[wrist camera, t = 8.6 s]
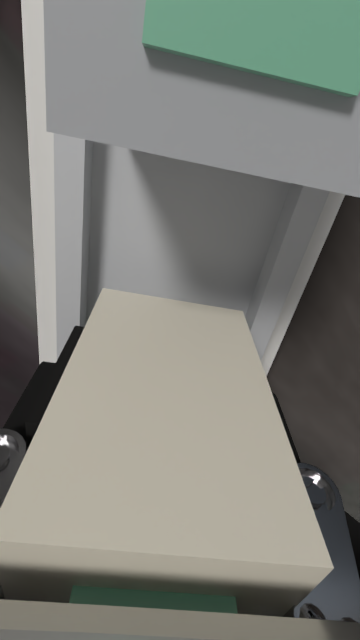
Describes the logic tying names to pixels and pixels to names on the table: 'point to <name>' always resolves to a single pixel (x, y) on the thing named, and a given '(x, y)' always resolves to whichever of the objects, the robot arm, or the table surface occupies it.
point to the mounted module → (213, 83)
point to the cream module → (162, 473)
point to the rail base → (160, 227)
